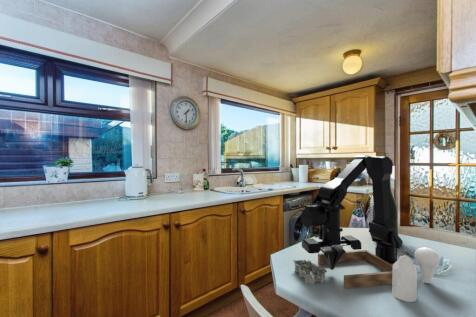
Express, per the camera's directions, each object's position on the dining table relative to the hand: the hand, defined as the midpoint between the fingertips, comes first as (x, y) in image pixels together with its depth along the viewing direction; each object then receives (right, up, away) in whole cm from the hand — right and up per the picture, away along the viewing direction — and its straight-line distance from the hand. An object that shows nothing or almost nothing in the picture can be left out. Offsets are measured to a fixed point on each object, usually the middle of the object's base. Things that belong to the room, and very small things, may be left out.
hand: (331, 269), depth 78 cm
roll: (+16, -2, -12) cm, 20 cm away
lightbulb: (+28, -2, -6) cm, 28 cm away
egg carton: (-8, -2, -1) cm, 8 cm away
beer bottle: (+37, -2, +30) cm, 48 cm away
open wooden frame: (+9, -2, +1) cm, 10 cm away
